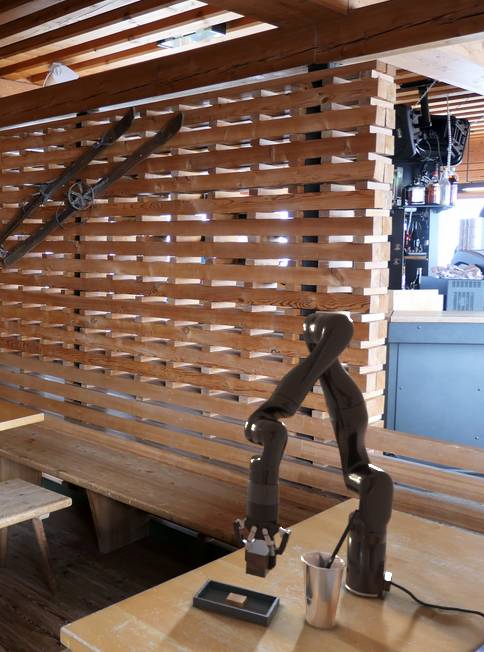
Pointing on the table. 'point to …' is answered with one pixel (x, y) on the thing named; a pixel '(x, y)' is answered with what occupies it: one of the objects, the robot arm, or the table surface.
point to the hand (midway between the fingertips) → (260, 565)
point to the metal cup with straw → (323, 583)
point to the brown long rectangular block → (258, 559)
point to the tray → (255, 609)
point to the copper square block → (236, 600)
